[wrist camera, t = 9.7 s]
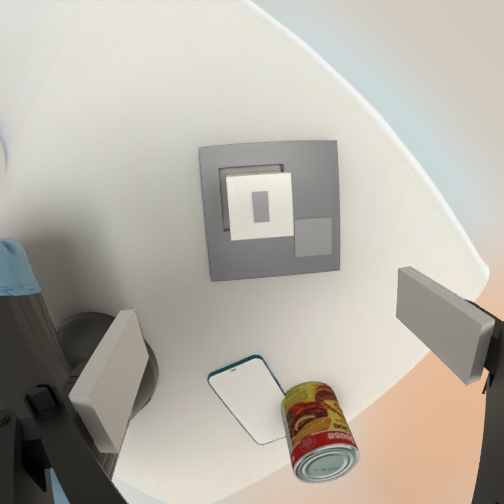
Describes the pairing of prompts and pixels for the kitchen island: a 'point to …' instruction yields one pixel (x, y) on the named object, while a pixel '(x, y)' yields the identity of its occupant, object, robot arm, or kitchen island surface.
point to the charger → (260, 205)
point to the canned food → (317, 434)
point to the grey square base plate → (304, 211)
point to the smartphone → (252, 397)
